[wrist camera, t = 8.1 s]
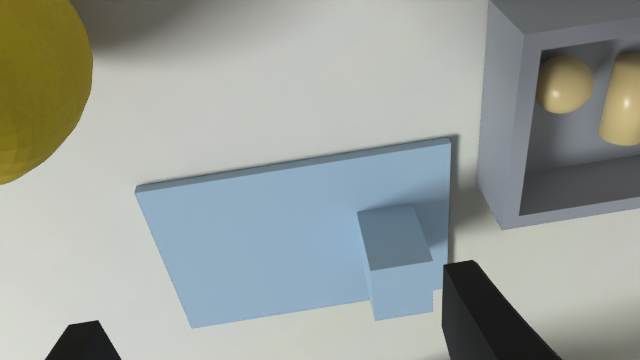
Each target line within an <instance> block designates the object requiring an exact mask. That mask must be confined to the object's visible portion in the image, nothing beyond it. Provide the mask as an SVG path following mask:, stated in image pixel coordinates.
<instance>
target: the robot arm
mask: <svg viewBox="0 0 640 360" xmlns="http://www.w3.org/2000/svg"><path fill="white" fill-rule="evenodd" d="M442 329H443V333H444V336H445V340H446V344H447V347H448V351H449V355H450V358H451V360H562V359H561V358H560V357H559V356H558V355H557V354H556V353H555V352H554V351H553V350H552V349H551V348H550V347H549V346H548V345H547V344H546V342H545V341H544V340H543V339H542V338H541V337H540V336H539V335H538V334H537V333H536V332H535V331H534V330H533V329H532V328H531V327H530V326H529V324H528V323H527V322H526V321H525V320H524V319H523V318H522V317H521V316H520V314H519V313H518V312H517V311H516V310H515V309H514V308H513V306H512V305H511V304H510V303H509V302H508V301H507V300H506V298H505V297H504V296H503V295H502V294H501V292H500V291H499V290H498V289H497V288H496V286H495V285H494V284H493V283H492V281H491V280H490V279H489V278H488V276H487V275H486V274H485V273H484V271H483V270H482V269H481V267H480V266H479V265H478V263H476V262H475V261H473V260H469V261H463V262H457V263H451V264H444V265H443V295H442ZM45 360H121V358H120V356H119V355H118V353H117V351H116V350H115V348H114V346H113V345H112V343H111V341H110V340H109V338H108V336H107V334H106V333H105V331H104V329H103V328H102V326H101V324H100V323H99V321H98V320H96V321H90V322H84V323H78V324H71V325H68V327H67V328H66V329H65V331H64V332H63V334H62V335H61V337H60V338H59V340H58V341H57V343H56V344H55V346H54V347H53V349H52V350H51V352H50V353H49V354H48V356H47V357H46V359H45Z"/></svg>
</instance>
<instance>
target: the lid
mask: <svg viewBox="0 0 640 360" xmlns="http://www.w3.org/2000/svg"><path fill="white" fill-rule="evenodd" d="M450 163H451V142H450V140H449V138H448V137H445V138H439V139H433V140H426V141H420V142H414V143H407V144H401V145H395V146H388V147H382V148H376V149H369V150H363V151H357V152H350V153H344V154H338V155H331V156H325V157H319V158H312V159H306V160H300V161H293V162H287V163H281V164H274V165H268V166H262V167H255V168H249V169H243V170H236V171H230V172H224V173H217V174H211V175H205V176H198V177H192V178H186V179H179V180H173V181H167V182H160V183H154V184H148V185H141V186H136V189H135V193H134V194H135V196H136V198H137V201H138V203H139V205H140V208H141V210H142V212H143V215H144V217H145V220H146V222H147V224H148V227H149V229H150V231H151V234H152V236H153V238H154V241H155V243H156V245H157V248H158V250H159V252H160V255H161V257H162V260H163V262H164V264H165V267H166V269H167V271H168V274H169V276H170V278H171V281H172V283H173V285H174V288H175V290H176V293H177V295H178V297H179V300H180V302H181V304H182V307H183V309H184V311H185V314H186V316H187V318H188V321H189V323H190V326H191V328H198V327H205V326H211V325H217V324H223V323H230V322H236V321H242V320H248V319H255V318H261V317H267V316H273V315H280V314H286V313H292V312H298V311H305V310H311V309H317V308H323V307H330V306H336V305H342V304H348V303H355V302H361V301H367V300H370V301H371V305H372V310H373V314H374V319H375V321H378V320H384V319H390V318H397V317H403V316H409V315H415V314H422V313H428V312H433V290H436V289H442V288H443V265H444V264H447V257H448V226H449V194H450Z"/></svg>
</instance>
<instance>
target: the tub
mask: <svg viewBox="0 0 640 360" xmlns="http://www.w3.org/2000/svg"><path fill="white" fill-rule="evenodd" d="M476 183H477V185H478V187H479V188H480V190H481V192H482V194H483V196H484V198H485V200H486V202H487V203H488V205H489V207H490V209H491V211H492V213H493V215H494V217H495V218H496V220H497V222H498V224H499V226H500V228H501V230H506V229H512V228H518V227H525V226H531V225H537V224H543V223H550V222H556V221H562V220H568V219H575V218H581V217H587V216H593V215H599V214H606V213H612V212H618V211H624V210H631V209H637V208H640V0H489V9H488V24H487V38H486V52H485V67H484V81H483V96H482V110H481V124H480V139H479V153H478V167H477V182H476Z"/></svg>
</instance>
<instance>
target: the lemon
mask: <svg viewBox="0 0 640 360" xmlns="http://www.w3.org/2000/svg"><path fill="white" fill-rule="evenodd" d="M92 69H93V57H92V51H91V47H90V42H89V38H88V34H87V31H86V29H85V27H84V25H83V23H82V21H81V19H80V17H79V15H78V13H77V11H76V9H75V7H74V6H73V5H72V4H71V3H70V1H69V0H0V185H2V184H6V183H9V182H11V181H13V180H16V179H18V178H19V177H21V176H23V175H24V174H26V173H27V172H29V171H31V170H32V169H34V168H35V167H37V166H38V165H40V164H41V163H43V162H44V161H45V160H46V159H48V158H49V157H50V156H51V155H52V154H53V153H54V152H55V151H56V150H57V149H58V147H59V146H60V145H61V144H62V143H63V142H64V140H65V139H66V138H67V137H68V136H69V135H70V133H71V132H72V131H73V130H74V128H75V127H76V125H77V123H78V122H79V120H80V117H81V115H82V112H83V110H84V107H85V105H86V102H87V100H88V97H89V95H90V91H91V85H92Z"/></svg>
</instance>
